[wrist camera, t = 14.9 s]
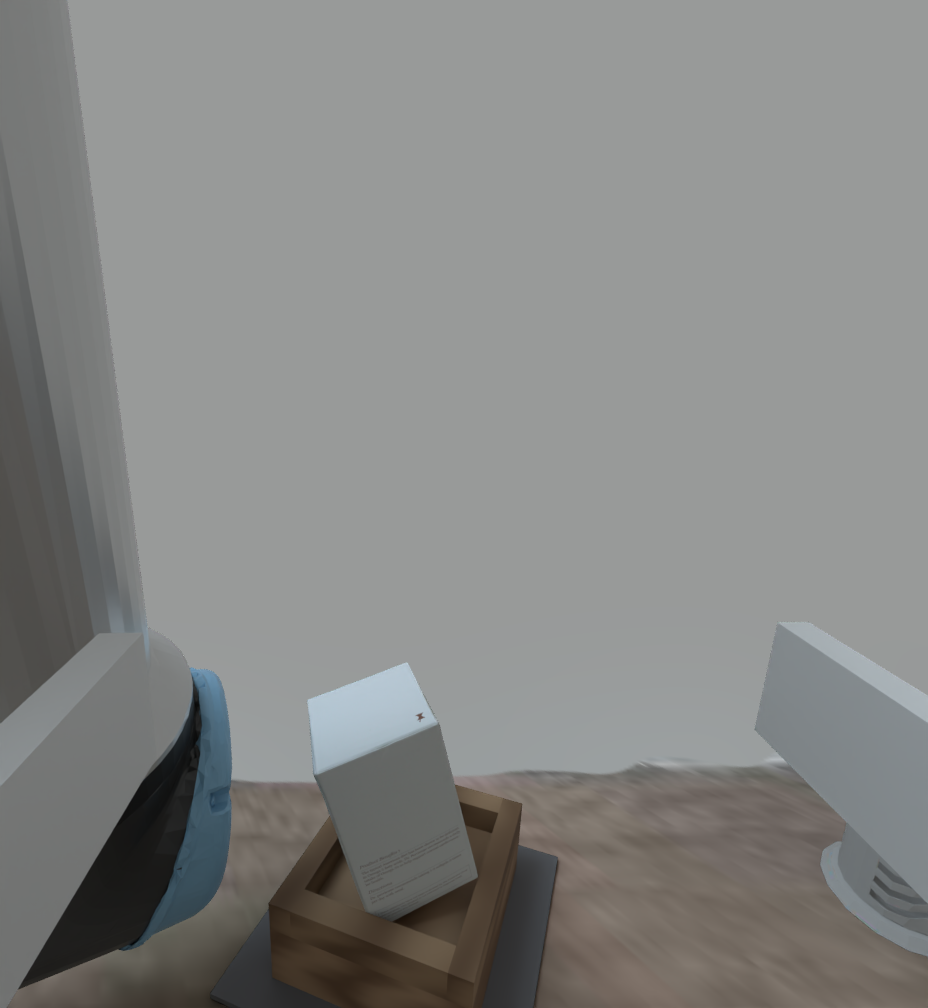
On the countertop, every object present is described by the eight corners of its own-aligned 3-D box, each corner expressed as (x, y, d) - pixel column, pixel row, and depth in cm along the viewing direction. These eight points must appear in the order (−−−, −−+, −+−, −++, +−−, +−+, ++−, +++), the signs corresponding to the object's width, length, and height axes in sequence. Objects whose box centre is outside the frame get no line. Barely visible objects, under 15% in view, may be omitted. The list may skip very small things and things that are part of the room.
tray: (272, 977, 34) (268, 903, 32) (368, 819, 46) (368, 760, 44) (468, 1062, 30) (474, 983, 29) (516, 866, 42) (522, 803, 41)
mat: (210, 998, 33) (210, 993, 33) (348, 796, 49) (348, 793, 49) (512, 1138, 28) (512, 1132, 27) (557, 861, 43) (557, 857, 43)
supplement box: (446, 796, 41) (410, 657, 37) (480, 881, 34) (441, 722, 30) (352, 838, 39) (304, 696, 35) (369, 936, 32) (312, 774, 29)
